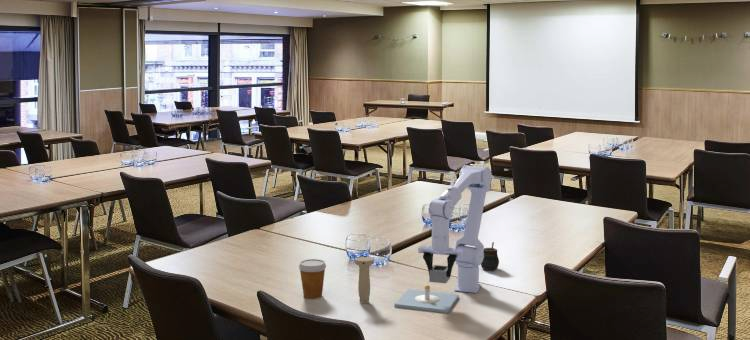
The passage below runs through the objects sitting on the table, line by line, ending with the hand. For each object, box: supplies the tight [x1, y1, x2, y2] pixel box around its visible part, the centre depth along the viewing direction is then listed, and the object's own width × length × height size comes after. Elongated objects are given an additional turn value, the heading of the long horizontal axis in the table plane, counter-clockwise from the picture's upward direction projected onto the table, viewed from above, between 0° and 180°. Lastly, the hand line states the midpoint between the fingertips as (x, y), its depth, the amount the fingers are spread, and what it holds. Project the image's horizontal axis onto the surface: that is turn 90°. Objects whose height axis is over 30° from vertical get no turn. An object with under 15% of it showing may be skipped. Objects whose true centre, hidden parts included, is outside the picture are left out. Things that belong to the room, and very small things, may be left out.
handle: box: [354, 256, 375, 304], centre depth 235 cm, size 5×6×15 cm
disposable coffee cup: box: [298, 258, 327, 300], centre depth 241 cm, size 10×10×12 cm
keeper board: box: [394, 284, 460, 314], centre depth 235 cm, size 16×18×6 cm
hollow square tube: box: [428, 264, 451, 284], centre depth 232 cm, size 6×6×4 cm
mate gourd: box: [480, 241, 500, 272], centre depth 273 cm, size 7×8×10 cm
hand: (439, 275), depth 232 cm, fingers closed on hollow square tube, 6 cm apart
